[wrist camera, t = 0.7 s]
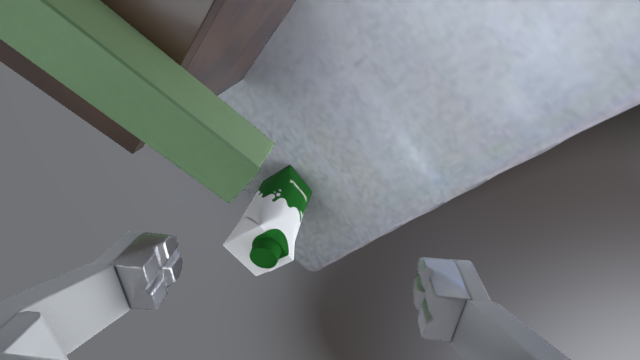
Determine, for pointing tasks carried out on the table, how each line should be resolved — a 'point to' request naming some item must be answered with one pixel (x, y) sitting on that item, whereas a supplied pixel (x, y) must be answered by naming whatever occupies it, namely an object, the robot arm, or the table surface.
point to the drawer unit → (175, 48)
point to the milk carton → (270, 223)
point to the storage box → (138, 88)
